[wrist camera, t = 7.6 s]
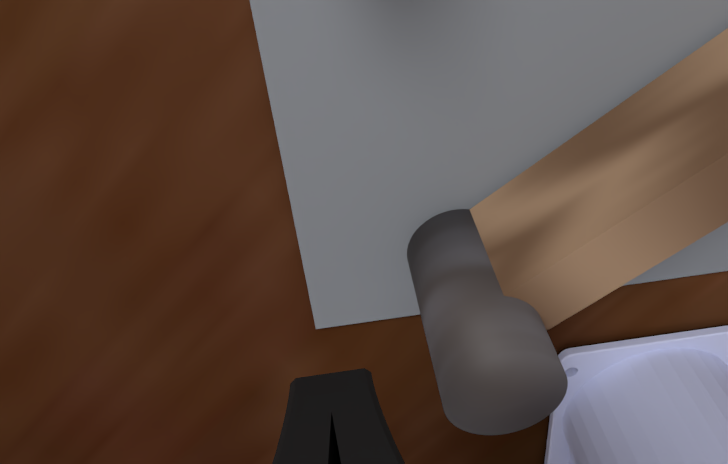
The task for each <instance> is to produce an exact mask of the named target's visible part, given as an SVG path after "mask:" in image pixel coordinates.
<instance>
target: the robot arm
mask: <svg viewBox="0 0 728 464" xmlns="http://www.w3.org/2000/svg"><path fill="white" fill-rule="evenodd" d="M558 357H559V359H560V362H561V364H562V366H563V368H564V371H565V373H566V376H567V380H568V386H567V391H566V394H565V396H564V398H563V400H562V402H561V403H560V405H559V406H558V407H557V408H556V409H555V410H554V411H553V412H552V413H551V414H550V420H549V428H548V437H547V445H546V454H545V462H544V464H728V325H726V326H719V327H712V328H705V329H698V330H691V331H684V332H677V333H670V334H664V335H657V336H650V337H643V338H636V339H629V340H622V341H615V342H608V343H601V344H594V345H587V346H580V347H573V348H568V349H565V350H563V351H562V352H561V353H560V354H559V355H558ZM272 464H405V463H404V461H403V459H402V457H401V455H400V453H399V451H398V448H397V446H396V444H395V442H394V440H393V437H392V435H391V433H390V430H389V428H388V425H387V423H386V420H385V418H384V416H383V413H382V410H381V407H380V405H379V402H378V398H377V395H376V392H375V388H374V385H373V380H372V375H371V372H370V371H368V370H366V369H357V370H350V371H343V372H336V373H329V374H322V375H315V376H308V377H301V378H296V379H295V380H294V381H293V382H292V383H291V384H290V392H289V399H288V404H287V409H286V414H285V419H284V423H283V427H282V431H281V435H280V439H279V443H278V446H277V450H276V454H275V457H274V460H273V463H272Z"/></svg>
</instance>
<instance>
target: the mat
mask: <svg viewBox="0 0 728 464" xmlns="http://www.w3.org/2000/svg"><path fill="white" fill-rule="evenodd" d="M250 5H251V10H252V15H253V20H254V25H255V29H256V34H257V39H258V44H259V49H260V54H261V59H262V64H263V69H264V74H265V79H266V84H267V89H268V94H269V99H270V104H271V109H272V114H273V119H274V124H275V129H276V134H277V139H278V143H279V148H280V153H281V158H282V163H283V168H284V173H285V178H286V183H287V188H288V193H289V198H290V203H291V208H292V213H293V218H294V223H295V228H296V233H297V238H298V243H299V248H300V252H301V257H302V262H303V267H304V272H305V277H306V282H307V287H308V292H309V297H310V302H311V307H312V312H313V317H314V322H315V327H316V329H320V328H327V327H334V326H341V325H348V324H355V323H362V322H369V321H376V320H383V319H391V318H398V317H405V316H412V315H419V314H420V310H419V306H418V301H417V297H416V293H415V289H414V285H413V281H412V277H411V272H410V268H409V264H408V260H407V248H408V244H409V242H410V239H411V237H412V236H413V234H414V233H415V231H416V230H417V229H418V228H419V227H420V226H421V225H422V224H423V223H424V222H426V221H427V220H429V219H430V218H432V217H434V216H436V215H438V214H440V213H443V212H446V211H450V210H457V209H471V208H472V207H474V206H475V205H477V204H478V203H479V202H481V201H482V200H484V199H485V198H487V197H488V196H489V195H491V194H492V193H494V192H495V191H497V190H498V189H499V188H501V187H502V186H504V185H505V184H506V183H508V182H509V181H511V180H512V179H514V178H515V177H516V176H518V175H519V174H521V173H522V172H524V171H525V170H526V169H528V168H529V167H531V166H532V165H534V164H535V163H536V162H538V161H539V160H541V159H542V158H543V157H545V156H546V155H548V154H549V153H551V152H552V151H553V150H555V149H556V148H558V147H559V146H561V145H562V144H563V143H565V142H566V141H568V140H569V139H571V138H572V137H573V136H575V135H576V134H578V133H579V132H580V131H582V130H583V129H585V128H586V127H588V126H589V125H590V124H592V123H593V122H595V121H596V120H598V119H599V118H600V117H602V116H603V115H605V114H606V113H608V112H609V111H610V110H612V109H613V108H615V107H616V106H618V105H619V104H620V103H622V102H623V101H625V100H626V99H627V98H629V97H630V96H632V95H633V94H635V93H636V92H637V91H639V90H640V89H642V88H643V87H645V86H646V85H647V84H649V83H650V82H652V81H653V80H655V79H656V78H657V77H659V76H660V75H662V74H663V73H664V72H666V71H667V70H669V69H670V68H672V67H673V66H674V65H676V64H677V63H679V62H680V61H682V60H683V59H684V58H686V57H687V56H689V55H690V54H692V53H693V52H694V51H696V50H697V49H699V48H700V47H702V46H703V45H704V44H706V43H707V42H709V41H710V40H711V39H713V38H714V37H716V36H717V35H719V34H720V33H721V32H723V31H724V30H726V29H727V28H728V0H250ZM722 271H728V222H727V223H725V224H724V225H722V226H720V227H719V228H717V229H715V230H714V231H712V232H710V233H709V234H707V235H705V236H704V237H702V238H700V239H699V240H697V241H695V242H694V243H692V244H690V245H689V246H687V247H685V248H684V249H682V250H680V251H679V252H677V253H675V254H674V255H672V256H670V257H669V258H667V259H665V260H664V261H662V262H660V263H659V264H657V265H655V266H654V267H652V268H650V269H649V270H647V271H645V272H644V273H642V274H640V275H639V276H637V277H635V278H634V279H632V280H630V281H629V282H627V283H625V284H624V285H630V284H637V283H644V282H651V281H658V280H665V279H673V278H680V277H687V276H694V275H701V274H708V273H715V272H722ZM622 286H623V285H622Z"/></svg>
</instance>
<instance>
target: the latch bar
mask: <svg viewBox="0 0 728 464" xmlns="http://www.w3.org/2000/svg"><path fill="white" fill-rule="evenodd" d="M727 222H728V28H727V29H726V30H724V31H723V32H721V33H720V34H719V35H717V36H716V37H714V38H713V39H711V40H710V41H709V42H707V43H706V44H704V45H703V46H702V47H700V48H699V49H697V50H696V51H694V52H693V53H692V54H690V55H689V56H687V57H686V58H684V59H683V60H682V61H680V62H679V63H677V64H676V65H674V66H673V67H672V68H670V69H669V70H667V71H666V72H664V73H663V74H662V75H660V76H659V77H657V78H656V79H655V80H653V81H652V82H650V83H649V84H647V85H646V86H645V87H643V88H642V89H640V90H639V91H637V92H636V93H635V94H633V95H632V96H630V97H629V98H627V99H626V100H625V101H623V102H622V103H620V104H619V105H618V106H616V107H615V108H613V109H612V110H610V111H609V112H608V113H606V114H605V115H603V116H602V117H600V118H599V119H598V120H596V121H595V122H593V123H592V124H590V125H589V126H588V127H586V128H585V129H583V130H582V131H580V132H579V133H578V134H576V135H575V136H573V137H572V138H571V139H569V140H568V141H566V142H565V143H563V144H562V145H561V146H559V147H558V148H556V149H555V150H553V151H552V152H551V153H549V154H548V155H546V156H545V157H543V158H542V159H541V160H539V161H538V162H536V163H535V164H534V165H532V166H531V167H529V168H528V169H526V170H525V171H524V172H522V173H521V174H519V175H518V176H516V177H515V178H514V179H512V180H511V181H509V182H508V183H506V184H505V185H504V186H502V187H501V188H499V189H498V190H497V191H495V192H494V193H492V194H491V195H489V196H488V197H487V198H485V199H484V200H482V201H481V202H479V203H478V204H477V205H475V206H474V207H472V208H471V209H457V210H450V211H446V212H443V213H440V214H438V215H436V216H434V217H432V218H430V219H429V220H427V221H426V222H424V223H423V224H422V225H421V226H420V227H419V228H418V229H417V230H416V231H415V233H414V234H413V236H412V237H411V239H410V242H409V244H408V248H407V260H408V264H409V268H410V272H411V277H412V281H413V285H414V289H415V293H416V297H417V301H418V306H419V310H420V314H421V318H422V322H423V326H424V330H425V335H426V339H427V343H428V347H429V351H430V355H431V359H432V364H433V368H434V372H435V376H436V380H437V384H438V389H439V393H440V397H441V401H442V405H443V409H444V413H445V415H446V417H447V418H448V420H449V421H450V422H451V423H452V424H453V425H455V426H456V427H458V428H459V429H462V430H464V431H466V432H470V433H474V434H480V435H501V434H507V433H512V432H516V431H519V430H522V429H525V428H527V427H530V426H532V425H534V424H536V423H538V422H540V421H541V420H543V419H544V418H546V417H547V416H548V415H550V414H551V413H552V412H553V411H554V410H555V409H556V408H557V407H558V406H559V405H560V403H561V402H562V400H563V398H564V396H565V394H566V391H567V386H568V380H567V376H566V373H565V371H564V368H563V366H562V364H561V362H560V359H559V357H558V355H557V353H556V351H555V348H554V346H553V344H552V342H551V339H550V337H549V335H548V333H547V330H549V329H551V328H552V327H554V326H555V325H557V324H559V323H560V322H562V321H564V320H565V319H567V318H569V317H570V316H572V315H574V314H575V313H577V312H579V311H580V310H582V309H584V308H585V307H587V306H589V305H590V304H592V303H594V302H595V301H597V300H599V299H600V298H602V297H604V296H605V295H607V294H609V293H610V292H612V291H614V290H615V289H617V288H619V287H620V286H622V285H624V284H625V283H627V282H629V281H630V280H632V279H634V278H635V277H637V276H639V275H640V274H642V273H644V272H645V271H647V270H649V269H650V268H652V267H654V266H655V265H657V264H659V263H660V262H662V261H664V260H665V259H667V258H669V257H670V256H672V255H674V254H675V253H677V252H679V251H680V250H682V249H684V248H685V247H687V246H689V245H690V244H692V243H694V242H695V241H697V240H699V239H700V238H702V237H704V236H705V235H707V234H709V233H710V232H712V231H714V230H715V229H717V228H719V227H720V226H722V225H724V224H725V223H727Z"/></svg>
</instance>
